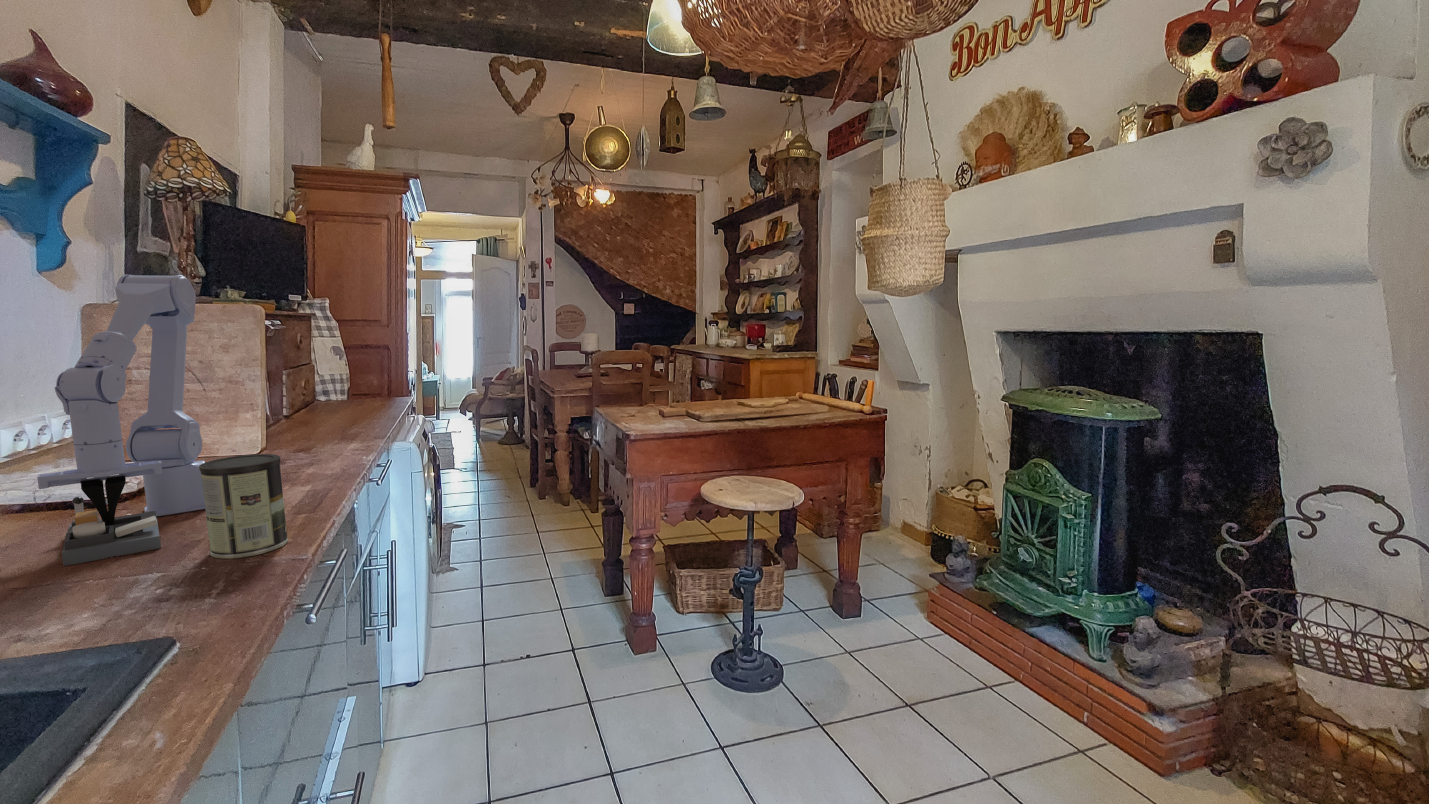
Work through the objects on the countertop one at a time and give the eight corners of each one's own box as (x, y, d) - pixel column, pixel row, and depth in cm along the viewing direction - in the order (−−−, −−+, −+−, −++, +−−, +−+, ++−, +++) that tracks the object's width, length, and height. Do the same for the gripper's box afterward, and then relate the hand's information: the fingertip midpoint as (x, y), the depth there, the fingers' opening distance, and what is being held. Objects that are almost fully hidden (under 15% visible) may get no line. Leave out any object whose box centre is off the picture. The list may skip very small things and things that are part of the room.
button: (106, 529, 103) (104, 519, 103) (105, 534, 100) (104, 525, 100) (74, 534, 101) (73, 524, 100) (72, 540, 98) (71, 530, 98)
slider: (99, 527, 107) (97, 509, 107) (99, 533, 104) (96, 515, 104) (78, 530, 105) (76, 512, 105) (77, 536, 102) (74, 518, 102)
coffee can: (258, 533, 110) (250, 451, 108) (303, 540, 107) (295, 456, 105) (192, 554, 100) (182, 465, 98) (239, 562, 97) (230, 470, 95)
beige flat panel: (156, 519, 107) (154, 515, 107) (157, 524, 105) (155, 519, 104) (117, 532, 104) (115, 528, 103) (117, 537, 101) (115, 532, 101)
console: (156, 521, 116) (154, 503, 116) (161, 548, 103) (158, 527, 103) (70, 535, 109) (68, 516, 109) (63, 566, 96) (60, 544, 95)
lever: (86, 518, 109) (83, 496, 109) (85, 517, 108) (83, 495, 108) (74, 520, 108) (72, 498, 108) (73, 519, 107) (71, 497, 107)
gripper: (30, 451, 97) (43, 539, 98) (158, 439, 106) (168, 519, 108) (35, 445, 102) (47, 528, 104) (156, 433, 111) (166, 510, 113)
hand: (109, 523), depth 106 cm, fingers closed
